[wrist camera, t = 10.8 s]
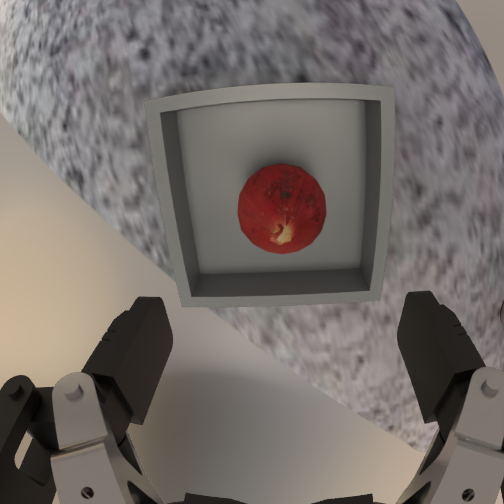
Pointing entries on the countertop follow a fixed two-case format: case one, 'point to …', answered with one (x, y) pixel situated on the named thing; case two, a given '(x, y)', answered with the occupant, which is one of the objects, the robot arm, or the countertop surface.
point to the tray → (266, 154)
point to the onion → (281, 208)
